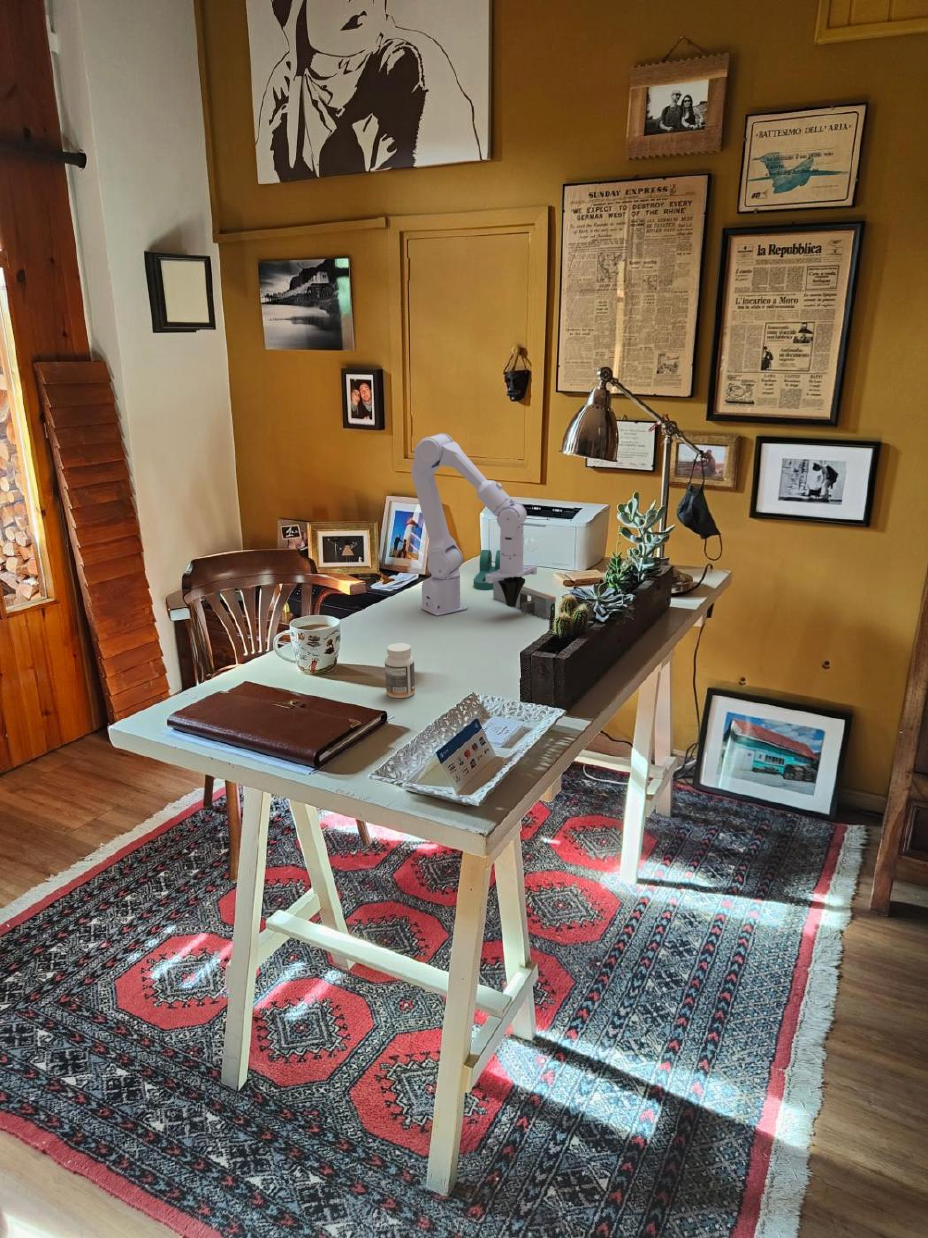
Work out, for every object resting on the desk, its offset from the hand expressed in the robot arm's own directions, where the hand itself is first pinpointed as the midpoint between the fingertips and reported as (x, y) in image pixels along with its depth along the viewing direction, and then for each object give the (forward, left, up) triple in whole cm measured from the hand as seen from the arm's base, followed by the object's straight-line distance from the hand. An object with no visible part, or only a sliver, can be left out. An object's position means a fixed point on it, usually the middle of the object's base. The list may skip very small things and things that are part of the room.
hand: (511, 605), depth 222 cm
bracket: (+14, +29, -3) cm, 32 cm away
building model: (+6, +3, -3) cm, 8 cm away
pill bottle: (-48, -27, -3) cm, 55 cm away
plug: (+8, 0, -3) cm, 9 cm away
